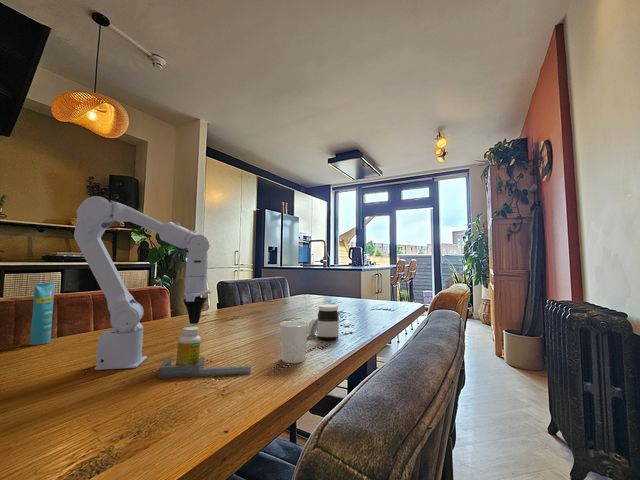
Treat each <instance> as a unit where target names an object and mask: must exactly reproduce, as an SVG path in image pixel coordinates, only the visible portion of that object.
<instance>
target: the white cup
mask: <svg viewBox="0 0 640 480" xmlns="http://www.w3.org/2000/svg"><path fill="white" fill-rule="evenodd" d="M308 326H309V324H308V322H306V321H302V320H285V321H282V322H280V323H279V332H280V333H279V334H280V335H279V336H280V337H279V339H280V340H279V341H280V342H279V343H280V360H281V361H282V362H284V363H287V364H298V363H302V362H304V361H306V351H307V340H308V333H307V330H308Z"/></svg>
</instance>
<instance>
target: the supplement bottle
mask: <svg viewBox="0 0 640 480" xmlns="http://www.w3.org/2000/svg"><path fill="white" fill-rule="evenodd" d="M199 332H200V328H199V327H197V326H186V327H182V331H181V334H182V336H180V337H179V338H178V341H177V342H178V343H177V352H176V360H175V365H193V364H197V362H198V360H199V358H200V350H201V342H202V341H201V340H202V337H201V336H200V335H199Z"/></svg>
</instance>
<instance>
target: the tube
mask: <svg viewBox="0 0 640 480" xmlns="http://www.w3.org/2000/svg"><path fill="white" fill-rule="evenodd" d="M33 295H34V296H33V303H32V315H31V326H30V336H29V337H30V339H29V345H32V346H37V345H38V346H39V345H44V344H45V343H46V344H49V343H51V340H52V327H53V326H52V325H53V313H54V312H53V310H54V301H55V300H54V298H55V297H54V296H55V281H51V282H45V283H36V284H35V286H34V294H33Z"/></svg>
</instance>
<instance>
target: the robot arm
mask: <svg viewBox="0 0 640 480" xmlns="http://www.w3.org/2000/svg"><path fill="white" fill-rule="evenodd" d="M114 222H118V223H124V222H125V223H126V222H130V223H132V224H135V225H138V226H140V227H142V228H145V229H147V230H149V231H153V232H154V233H157V234H158V235H159V238H160V240H161V241H163V242H165V243H167V244H170V245H173V246H175V247H177V248H178V249H179V248H180V249H182V250H184V249H187V251H188V252H187V259H186V267H185V282H184V283H185V284H184V291H183V293H184V296H185V298H184V299H183V303H184V305H185V308H186V311H187V316H188V320H189V324H190V325H198V324H199V322H200V321H201V320H200V319H201V316H202V310H203V308H204V305H205V303H206V301H207V300H208V299H207V297H202V296H204V295H210V294H211V290H207V287H208V286H207V281H208V264H209V263H208V261H209V260H208V250H209V249H210V241H209V239H207V237H206V236H205V235H202V234H197V231H196V230H194V229H192V230H191V229H188V228H186V227H184V226H181V223H180V222H178V221H175V222H173V221H169V222H165V223H164V222H162V221H159V220H157V219H156V218H153V217H151V216H149V215H147V214H145V213H143V212H141V211H139V210H136V209H135V208H133V207H131V206H129V205H128V206H127V204H126V205H125V204H122V203H120V202H118V201H114V200H110V201H109V200H108V199H106V198H105V197H103V196H99V195H93V196H88V197H86V198H85V199H83V201H82V202H81V204H80V205H79V206H78V208H77V209H76V223H75V227H74V233H73V239H74V241H75V242H76V244H77V245H78V248H79V250H80V252H81V254H82V256H83V257H84V259H85V261H86V263H87V265H88V267H89V269H90V270H91V273H92V274H93V276H94V278H95V280H96V282H97V284H98V285H99V288H100V290H101V291H102V293H103V295H104V297H105V299H106V304H107V310H108V312H109V314H110V321H109V323H110V325H111V328H110V329H108V330H104V331H102V332H101V333H100V335H99V337H98V340H97V346H96V347H97V348H96V350H97V351H96V362H95V363H96V365H95V367H94V370H95V371H98V370H99V371H100V370H115V369H116V370H118V369H119V370H121V369H136V368H138V366H140V365H141V364H142V363H143V362H144V361H145V360H147V358H148V356H147V355H143V337H144V325H143V324H141V322H140V321H141V320H142V319H143V317H144V315H145V311H144V307H143V306H142V304H140V303H139V302H138V301H136V300H135V298H134V296H133V295H132V294H131V293H130V292H129V290H128V288H127V287H126V284H125V283H124V281H123V278H122V276H121V275H120V273H119V271H118V269H117V267H116V265H115V264H114V261H113V260H112V257H111V255H110V253H109V252H108V250H107V247H106V246H105V244H104V241H103V240H102V236H103V234H104V233H105V231H106V229H107V228H108V227H110V226H111V225H112V224H113V223H114Z"/></svg>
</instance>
